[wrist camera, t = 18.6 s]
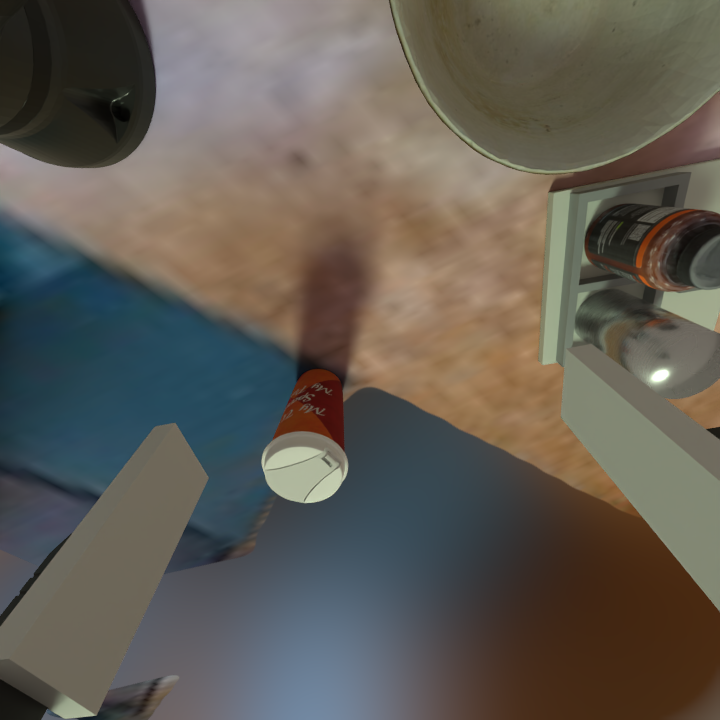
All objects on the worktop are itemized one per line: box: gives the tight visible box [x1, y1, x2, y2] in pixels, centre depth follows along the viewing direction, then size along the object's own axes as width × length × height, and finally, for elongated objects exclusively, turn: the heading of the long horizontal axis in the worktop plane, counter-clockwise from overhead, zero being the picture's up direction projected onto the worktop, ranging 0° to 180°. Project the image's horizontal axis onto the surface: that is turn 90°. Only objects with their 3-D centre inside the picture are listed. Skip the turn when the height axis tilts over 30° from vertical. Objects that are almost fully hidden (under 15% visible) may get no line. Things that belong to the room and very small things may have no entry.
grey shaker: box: [574, 289, 720, 399], centre depth 32 cm, size 6×6×11 cm
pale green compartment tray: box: [538, 158, 720, 367], centre depth 35 cm, size 18×18×2 cm
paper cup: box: [262, 369, 348, 503], centre depth 36 cm, size 8×8×14 cm
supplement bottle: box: [584, 204, 720, 292], centre depth 28 cm, size 6×6×11 cm
